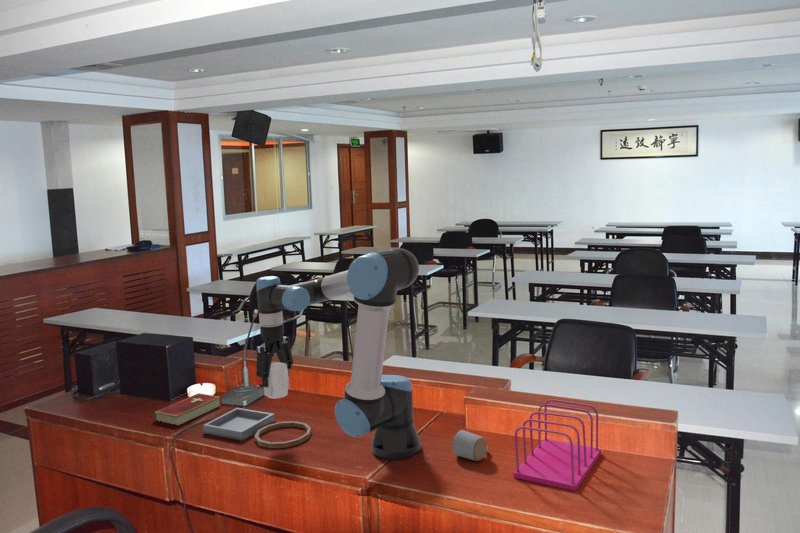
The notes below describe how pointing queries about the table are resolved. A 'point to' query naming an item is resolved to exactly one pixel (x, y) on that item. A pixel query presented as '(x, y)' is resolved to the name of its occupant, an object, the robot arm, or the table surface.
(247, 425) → the tray
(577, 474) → the file sorter
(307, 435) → the holder ring
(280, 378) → the white cup
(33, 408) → the table surface
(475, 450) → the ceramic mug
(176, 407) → the hardcover book
